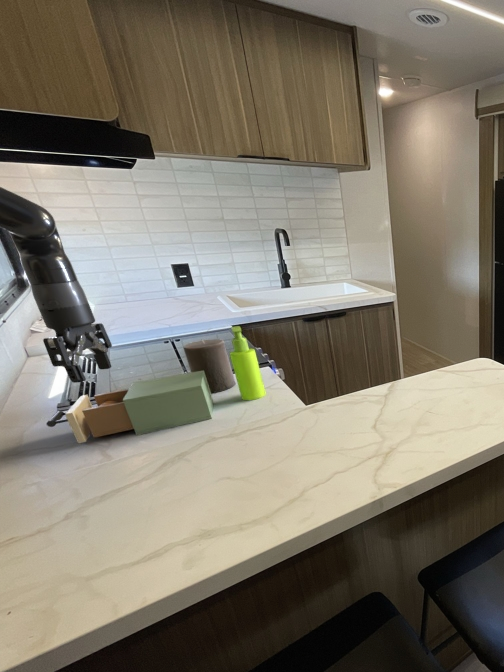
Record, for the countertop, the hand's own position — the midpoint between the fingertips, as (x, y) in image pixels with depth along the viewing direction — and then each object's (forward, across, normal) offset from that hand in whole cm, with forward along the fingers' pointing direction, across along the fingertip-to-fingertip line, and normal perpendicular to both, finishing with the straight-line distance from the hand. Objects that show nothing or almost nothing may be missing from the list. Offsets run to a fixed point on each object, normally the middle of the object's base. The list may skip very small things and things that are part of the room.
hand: (93, 375), depth 91 cm
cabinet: (+14, -4, +11) cm, 18 cm away
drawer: (+13, 0, 0) cm, 13 cm away
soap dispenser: (+14, -12, +26) cm, 32 cm away
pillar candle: (+14, -24, +13) cm, 30 cm away
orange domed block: (+12, 0, 0) cm, 12 cm away
